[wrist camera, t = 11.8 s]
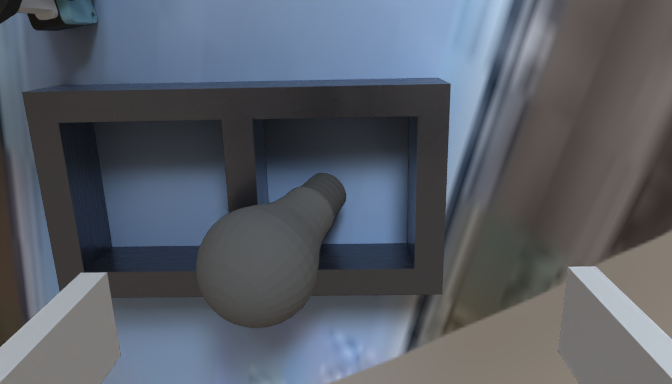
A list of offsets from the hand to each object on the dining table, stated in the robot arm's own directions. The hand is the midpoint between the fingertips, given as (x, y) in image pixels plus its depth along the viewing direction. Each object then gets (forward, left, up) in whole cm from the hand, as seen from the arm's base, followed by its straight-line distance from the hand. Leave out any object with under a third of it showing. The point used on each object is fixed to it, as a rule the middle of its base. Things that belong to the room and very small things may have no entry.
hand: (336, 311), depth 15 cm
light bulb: (0, 0, -15) cm, 15 cm away
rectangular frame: (0, -5, -15) cm, 16 cm away
